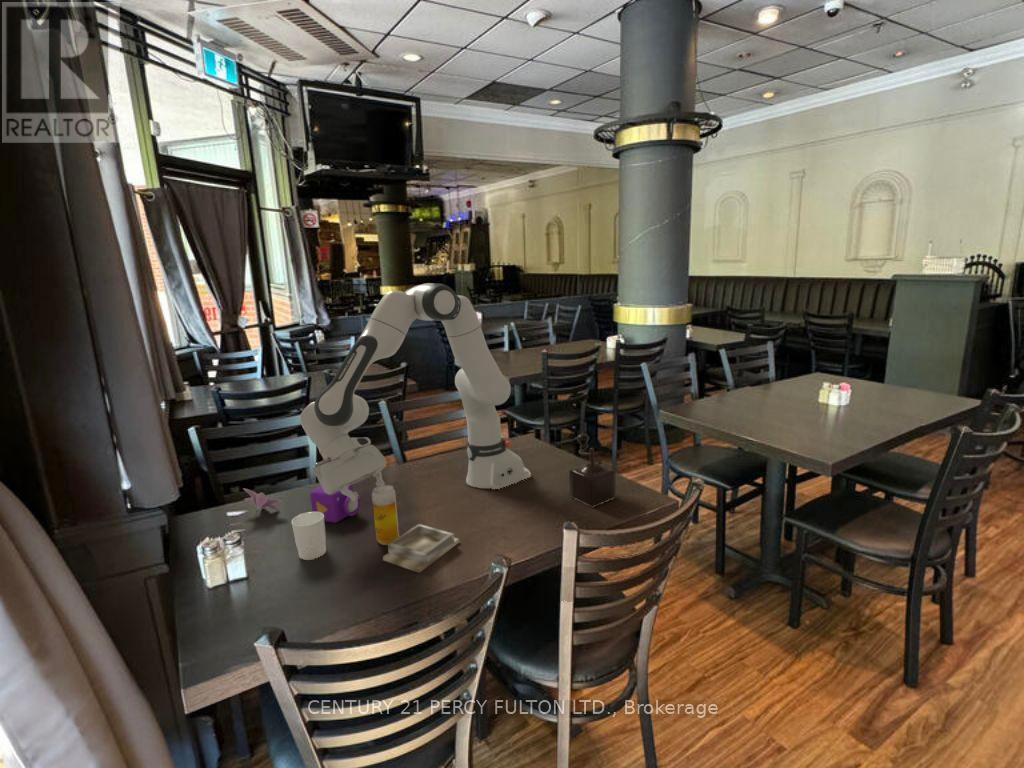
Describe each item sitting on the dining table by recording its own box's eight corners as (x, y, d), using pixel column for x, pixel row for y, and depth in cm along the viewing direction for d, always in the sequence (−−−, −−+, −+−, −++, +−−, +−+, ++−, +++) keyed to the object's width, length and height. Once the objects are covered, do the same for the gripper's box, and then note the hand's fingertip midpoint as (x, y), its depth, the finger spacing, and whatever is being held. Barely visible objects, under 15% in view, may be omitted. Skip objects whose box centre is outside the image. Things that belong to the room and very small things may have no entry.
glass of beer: (375, 537, 144) (369, 487, 141) (397, 532, 146) (392, 482, 143) (378, 548, 139) (373, 495, 135) (401, 542, 141) (396, 491, 138)
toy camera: (351, 526, 151) (347, 494, 149) (308, 523, 154) (304, 492, 151) (368, 509, 161) (365, 479, 159) (328, 507, 164) (324, 477, 162)
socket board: (383, 560, 133) (381, 547, 132) (424, 532, 146) (423, 520, 145) (419, 572, 127) (418, 559, 126) (459, 542, 140) (458, 530, 139)
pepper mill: (618, 498, 162) (618, 443, 158) (592, 508, 156) (591, 451, 152) (584, 482, 174) (583, 431, 170) (558, 491, 168) (557, 438, 164)
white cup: (304, 545, 141) (299, 511, 139) (332, 545, 141) (328, 511, 139) (291, 562, 134) (286, 526, 131) (321, 561, 133) (316, 525, 131)
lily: (287, 521, 158) (290, 489, 161) (246, 520, 149) (251, 486, 152) (269, 522, 165) (273, 492, 168) (230, 522, 157) (234, 489, 160)
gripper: (313, 459, 135) (344, 501, 132) (372, 435, 152) (400, 473, 149) (304, 472, 138) (334, 514, 135) (363, 448, 155) (390, 484, 152)
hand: (369, 492), depth 142 cm, fingers open, 8 cm apart
